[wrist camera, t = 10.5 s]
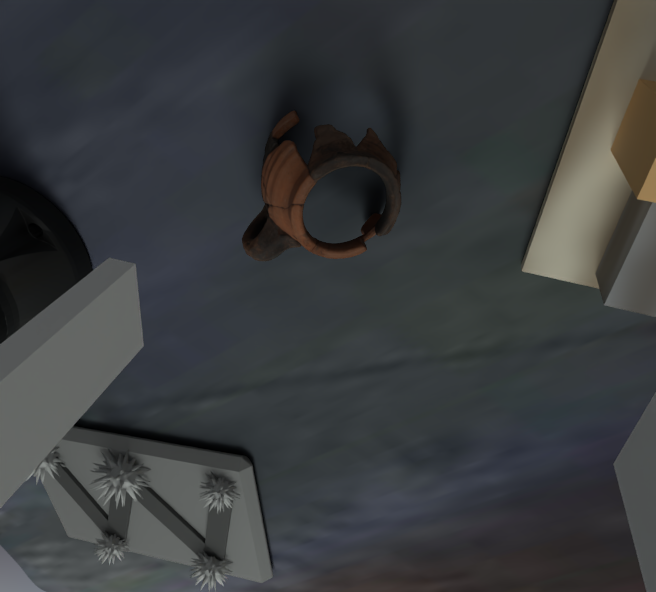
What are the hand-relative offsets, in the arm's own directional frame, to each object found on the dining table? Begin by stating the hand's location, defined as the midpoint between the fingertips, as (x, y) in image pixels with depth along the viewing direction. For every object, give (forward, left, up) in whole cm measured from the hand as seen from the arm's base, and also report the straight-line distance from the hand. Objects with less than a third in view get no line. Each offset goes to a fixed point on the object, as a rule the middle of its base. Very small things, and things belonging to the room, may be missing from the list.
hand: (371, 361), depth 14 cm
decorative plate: (-25, -50, -26) cm, 62 cm away
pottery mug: (-8, -6, -26) cm, 27 cm away
